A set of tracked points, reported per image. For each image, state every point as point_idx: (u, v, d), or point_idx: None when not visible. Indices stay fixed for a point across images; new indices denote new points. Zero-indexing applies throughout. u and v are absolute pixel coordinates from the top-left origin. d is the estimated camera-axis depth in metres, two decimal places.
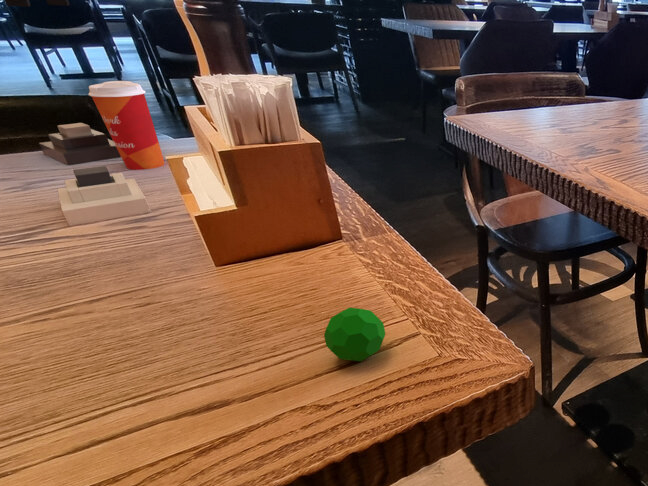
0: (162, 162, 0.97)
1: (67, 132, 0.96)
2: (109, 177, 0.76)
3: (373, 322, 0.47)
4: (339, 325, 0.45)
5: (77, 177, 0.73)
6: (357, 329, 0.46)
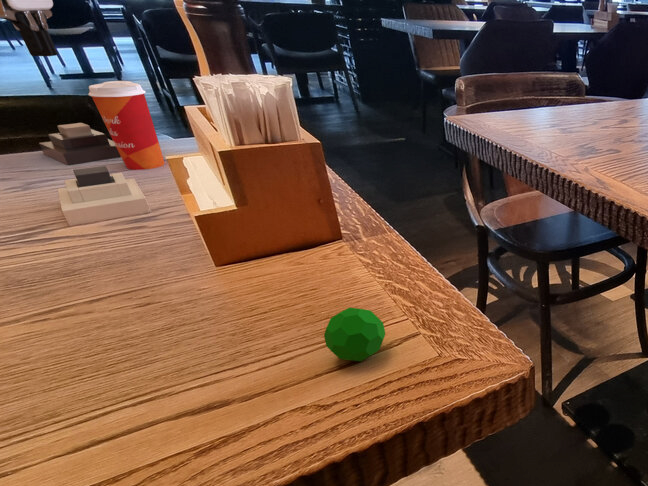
0: (162, 162, 0.97)
1: (67, 132, 0.96)
2: (109, 177, 0.76)
3: (373, 322, 0.47)
4: (339, 325, 0.45)
5: (77, 177, 0.73)
6: (357, 329, 0.46)
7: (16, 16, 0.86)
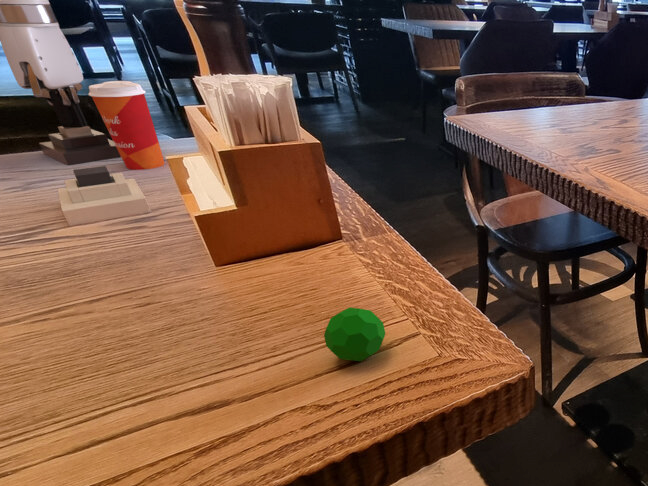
0: (162, 162, 0.97)
1: (68, 133, 0.96)
2: (109, 177, 0.76)
3: (373, 322, 0.47)
4: (338, 325, 0.45)
5: (77, 177, 0.73)
6: (357, 329, 0.46)
7: (50, 94, 0.92)
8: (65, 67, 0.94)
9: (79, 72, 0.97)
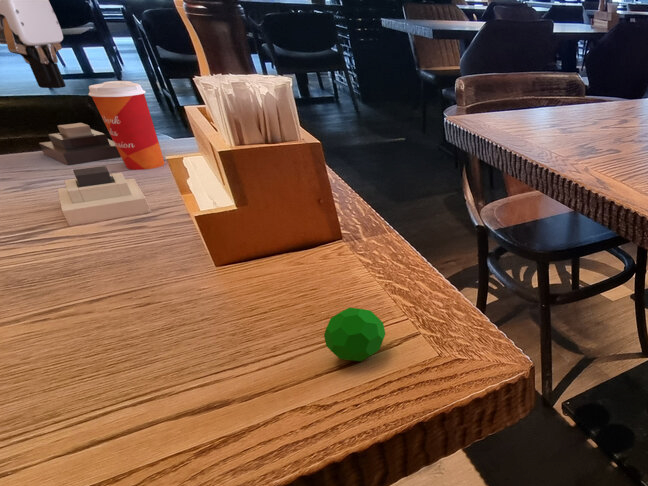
0: (162, 162, 0.97)
1: (67, 132, 0.96)
2: (109, 177, 0.76)
3: (373, 322, 0.47)
4: (339, 325, 0.45)
5: (77, 177, 0.73)
6: (357, 329, 0.46)
7: (27, 50, 0.89)
8: (44, 24, 0.90)
9: (59, 31, 0.94)
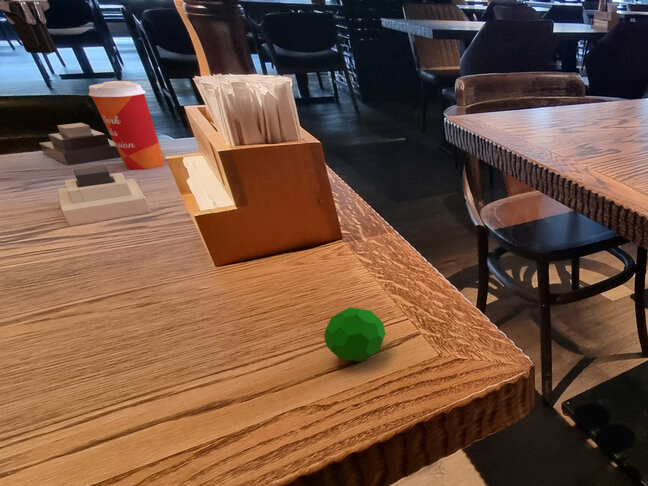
0: (162, 162, 0.97)
1: (67, 132, 0.96)
2: (109, 177, 0.76)
3: (373, 322, 0.47)
4: (339, 325, 0.45)
5: (77, 177, 0.73)
6: (357, 329, 0.46)
7: (10, 7, 0.77)
8: None
9: None
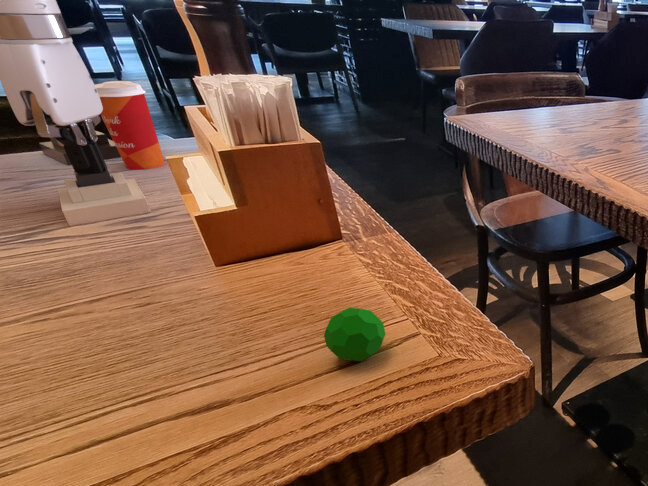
0: (162, 162, 0.97)
1: None
2: (109, 178, 0.76)
3: (373, 322, 0.47)
4: (339, 325, 0.45)
5: (78, 178, 0.73)
6: (357, 329, 0.46)
7: (61, 132, 0.70)
8: (80, 96, 0.71)
9: (98, 101, 0.74)
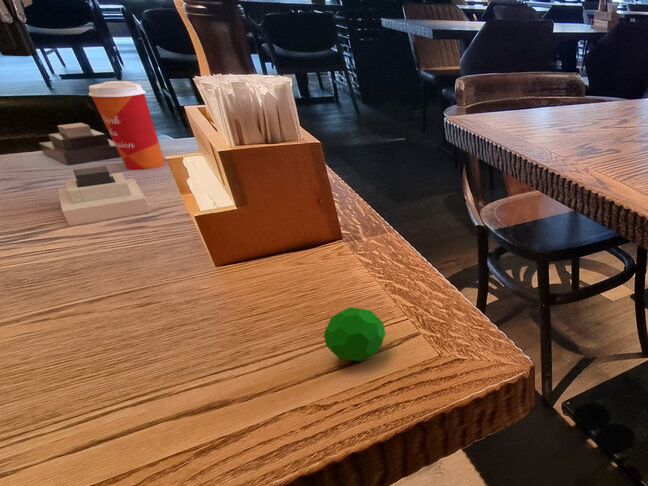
0: (162, 162, 0.97)
1: (67, 132, 0.96)
2: (109, 177, 0.76)
3: (373, 322, 0.47)
4: (338, 325, 0.45)
5: (77, 177, 0.73)
6: (357, 329, 0.46)
7: None
8: None
9: None
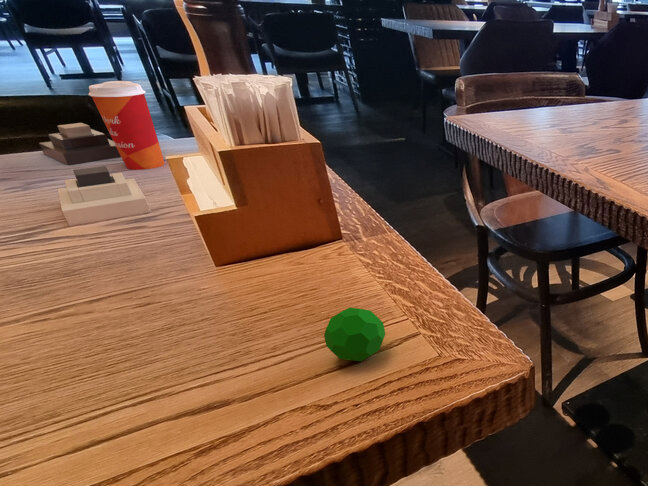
0: (162, 162, 0.97)
1: (67, 132, 0.96)
2: (109, 177, 0.76)
3: (373, 322, 0.47)
4: (339, 325, 0.45)
5: (77, 177, 0.73)
6: (357, 329, 0.46)
7: None
8: None
9: None
